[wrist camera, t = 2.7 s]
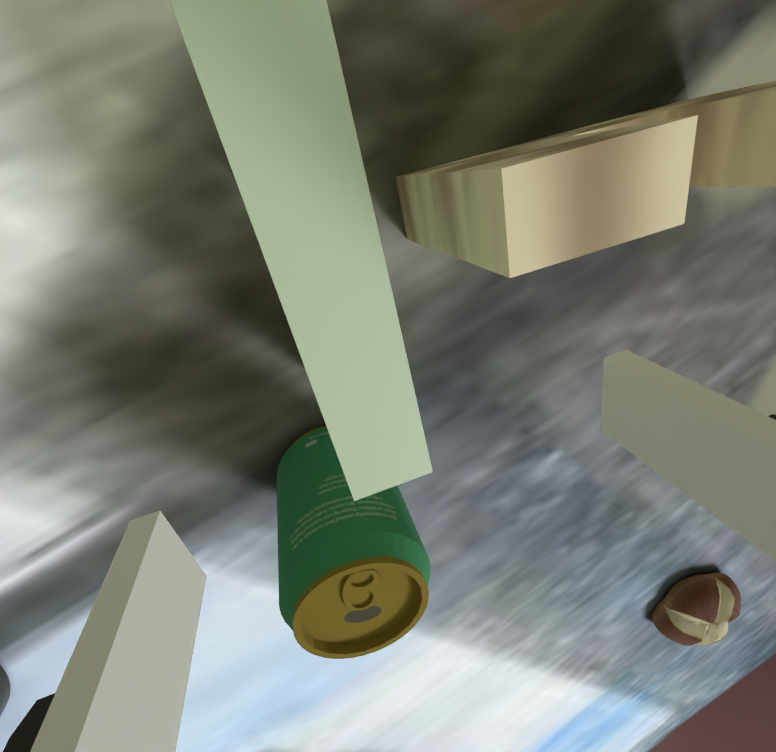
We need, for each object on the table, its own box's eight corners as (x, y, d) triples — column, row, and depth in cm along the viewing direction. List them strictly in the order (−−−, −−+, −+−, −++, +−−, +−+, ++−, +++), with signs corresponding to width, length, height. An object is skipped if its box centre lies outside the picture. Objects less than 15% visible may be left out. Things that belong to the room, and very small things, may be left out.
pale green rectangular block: (370, 362, 27) (432, 471, 17) (321, 378, 27) (354, 501, 16) (279, 32, 19) (289, -162, 8) (205, 47, 18) (119, -137, 8)
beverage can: (280, 513, 31) (286, 682, 20) (271, 425, 27) (272, 573, 17) (380, 497, 33) (432, 643, 22) (383, 413, 29) (446, 539, 19)
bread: (685, 623, 59) (719, 657, 55) (636, 621, 55) (667, 659, 50) (734, 568, 56) (774, 601, 51) (685, 562, 51) (724, 597, 47)
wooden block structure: (407, 239, 24) (509, 278, 14) (395, 176, 23) (501, 168, 12) (682, 159, 27) (942, 142, 17) (689, 98, 25) (983, 37, 15)
